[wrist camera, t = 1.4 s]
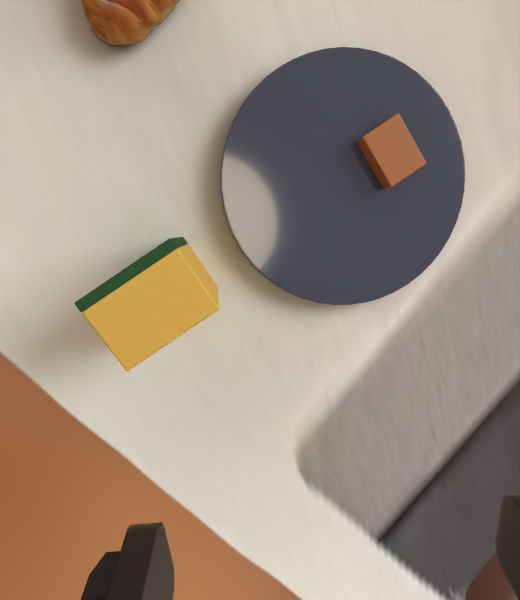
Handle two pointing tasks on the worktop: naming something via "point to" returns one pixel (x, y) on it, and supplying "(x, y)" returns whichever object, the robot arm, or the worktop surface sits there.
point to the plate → (339, 177)
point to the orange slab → (391, 151)
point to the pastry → (126, 18)
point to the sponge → (151, 302)
